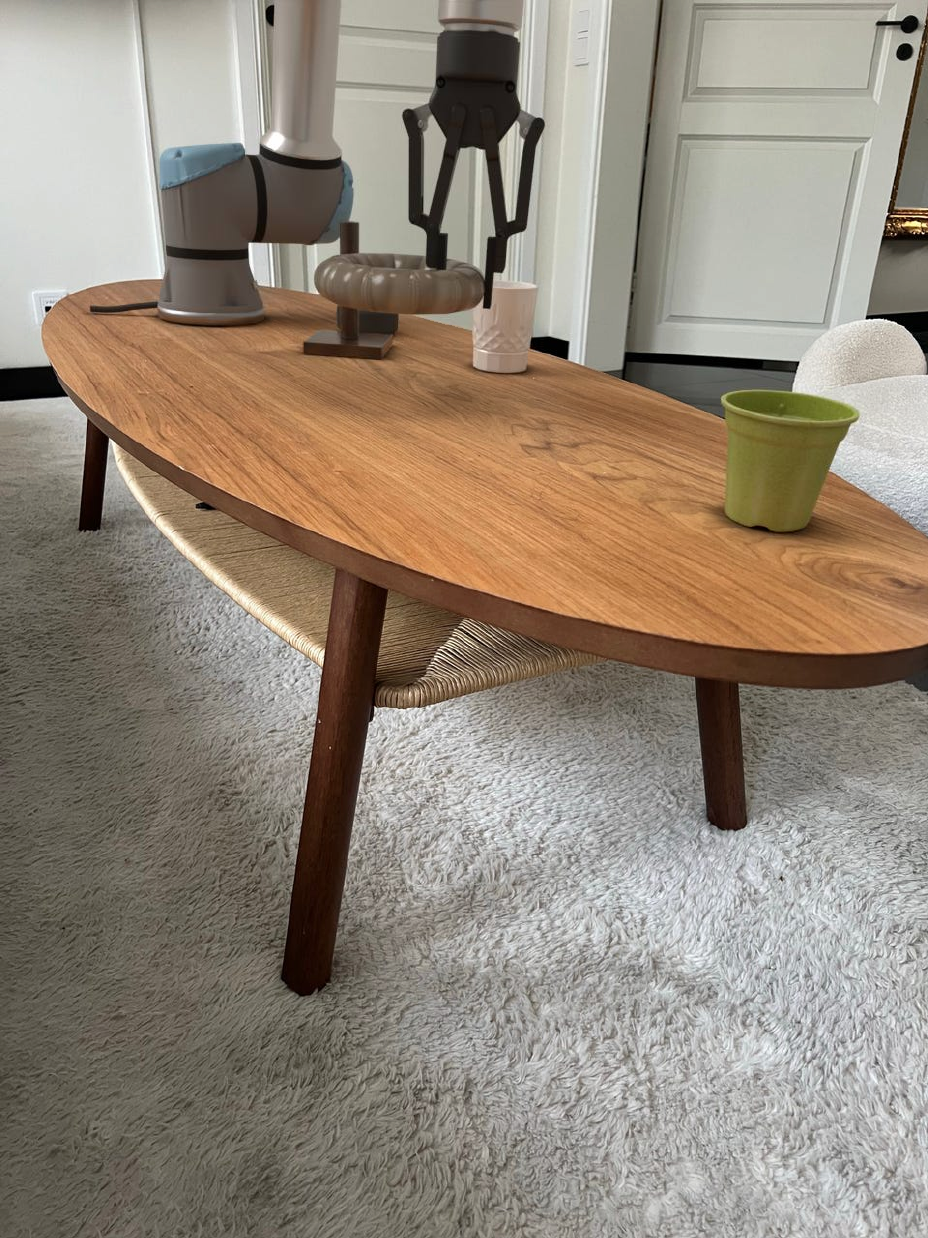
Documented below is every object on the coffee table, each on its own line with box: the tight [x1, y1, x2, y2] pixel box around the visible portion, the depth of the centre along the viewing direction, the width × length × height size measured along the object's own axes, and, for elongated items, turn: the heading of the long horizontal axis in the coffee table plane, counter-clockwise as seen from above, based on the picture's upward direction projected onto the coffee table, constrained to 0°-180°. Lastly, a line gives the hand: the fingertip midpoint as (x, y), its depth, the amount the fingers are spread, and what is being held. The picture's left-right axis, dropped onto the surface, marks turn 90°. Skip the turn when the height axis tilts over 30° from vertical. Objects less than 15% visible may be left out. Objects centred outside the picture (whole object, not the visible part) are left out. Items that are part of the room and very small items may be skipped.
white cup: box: [471, 279, 539, 374], centre depth 111 cm, size 8×8×10 cm
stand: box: [302, 220, 394, 360], centre depth 115 cm, size 10×10×16 cm
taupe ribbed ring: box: [313, 252, 485, 316], centre depth 91 cm, size 17×17×4 cm
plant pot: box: [720, 389, 860, 533], centre depth 66 cm, size 9×9×9 cm
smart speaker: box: [336, 305, 400, 335], centre depth 130 cm, size 9×9×4 cm
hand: (463, 304), depth 92 cm, fingers closed on taupe ribbed ring, 4 cm apart
